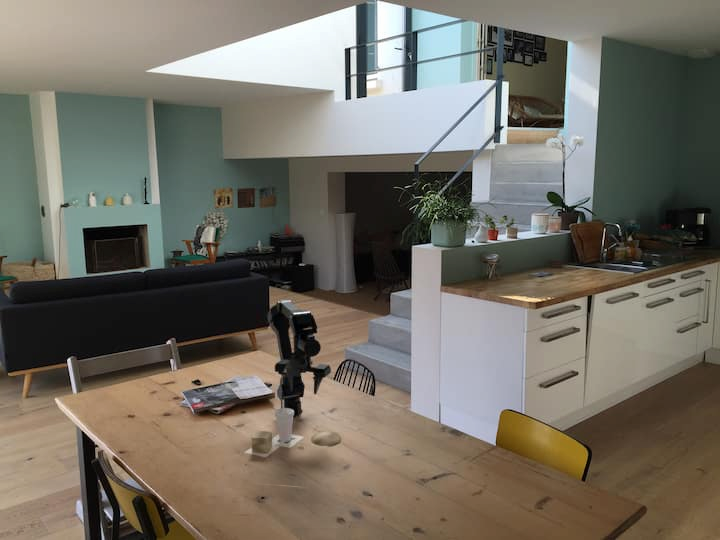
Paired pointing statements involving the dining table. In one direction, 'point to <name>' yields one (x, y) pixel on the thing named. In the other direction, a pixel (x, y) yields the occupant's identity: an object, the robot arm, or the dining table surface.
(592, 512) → the dining table surface
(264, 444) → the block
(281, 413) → the smoothie
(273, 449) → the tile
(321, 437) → the coaster
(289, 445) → the tile
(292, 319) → the robot arm
